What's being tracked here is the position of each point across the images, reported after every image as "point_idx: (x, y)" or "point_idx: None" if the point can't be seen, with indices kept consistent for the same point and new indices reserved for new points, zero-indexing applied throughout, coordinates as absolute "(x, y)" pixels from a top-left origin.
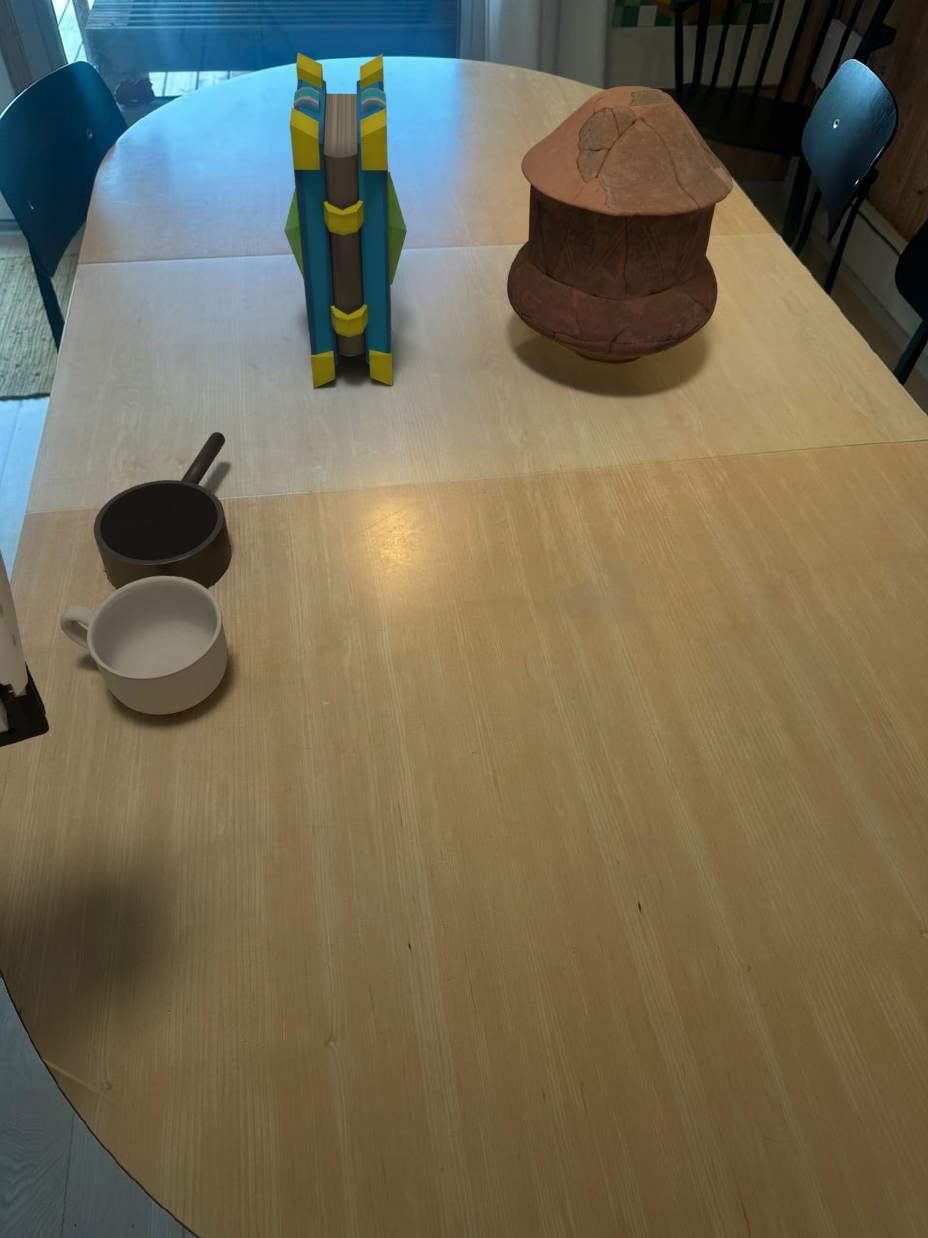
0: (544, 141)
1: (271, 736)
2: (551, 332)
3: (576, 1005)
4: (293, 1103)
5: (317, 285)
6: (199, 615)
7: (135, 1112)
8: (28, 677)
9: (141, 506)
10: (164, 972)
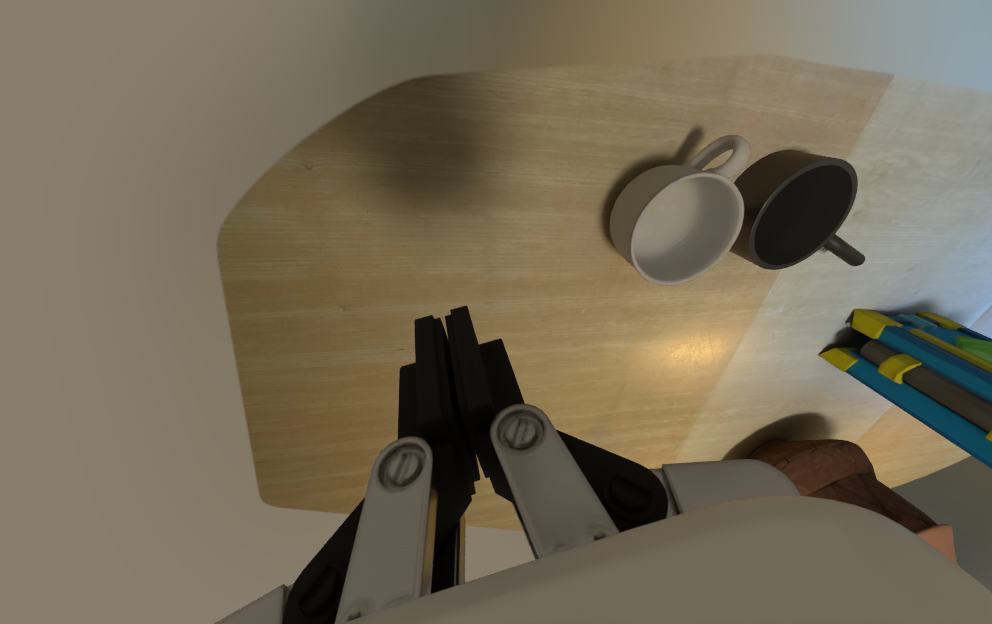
0: (950, 549)
1: (569, 278)
2: (789, 460)
3: (360, 416)
4: (301, 288)
5: (952, 369)
6: (687, 248)
7: (289, 188)
8: (472, 493)
9: (828, 202)
10: (396, 207)
